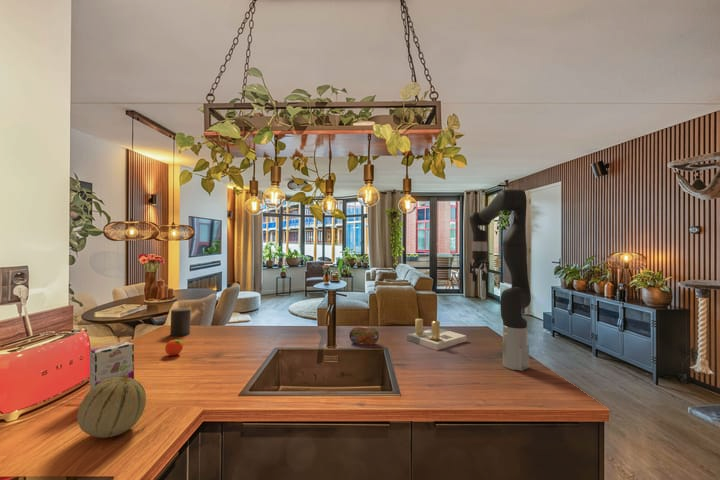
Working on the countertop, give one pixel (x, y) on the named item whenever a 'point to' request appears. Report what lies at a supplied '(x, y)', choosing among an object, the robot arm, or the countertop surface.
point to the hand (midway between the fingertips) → (479, 281)
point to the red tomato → (174, 347)
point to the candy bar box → (111, 362)
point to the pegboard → (426, 337)
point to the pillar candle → (180, 321)
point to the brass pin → (435, 331)
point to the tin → (364, 335)
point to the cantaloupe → (112, 407)
